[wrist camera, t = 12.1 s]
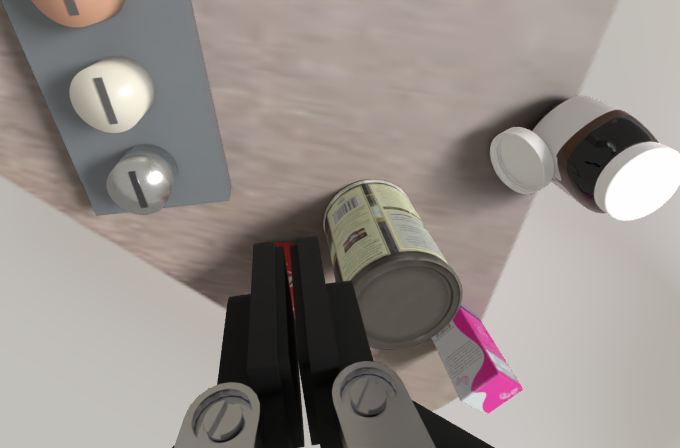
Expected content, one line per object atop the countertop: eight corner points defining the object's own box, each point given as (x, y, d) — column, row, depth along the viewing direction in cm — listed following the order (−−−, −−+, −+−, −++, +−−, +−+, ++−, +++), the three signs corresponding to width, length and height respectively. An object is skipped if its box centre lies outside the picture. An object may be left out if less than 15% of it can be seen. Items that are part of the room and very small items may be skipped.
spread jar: (609, 143, 45) (704, 192, 35) (523, 209, 48) (587, 271, 38) (564, 61, 39) (662, 92, 29) (469, 142, 42) (529, 195, 32)
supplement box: (451, 344, 59) (486, 416, 49) (425, 327, 56) (457, 401, 47) (482, 320, 57) (525, 391, 48) (457, 302, 55) (498, 373, 45)
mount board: (-9, -80, 28) (-37, -85, 25) (171, -89, 29) (161, -94, 26) (107, 200, 40) (96, 215, 37) (231, 186, 41) (229, 200, 38)
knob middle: (95, 51, 33) (56, 70, 27) (154, 47, 33) (128, 64, 27) (115, 108, 35) (84, 136, 29) (169, 103, 36) (149, 130, 30)
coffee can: (389, 264, 49) (426, 358, 38) (309, 245, 46) (323, 340, 34) (429, 193, 45) (486, 274, 33) (344, 165, 41) (374, 244, 30)
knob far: (124, 134, 37) (96, 167, 31) (177, 129, 37) (159, 160, 31) (140, 180, 39) (117, 218, 33) (189, 175, 40) (175, 211, 34)
